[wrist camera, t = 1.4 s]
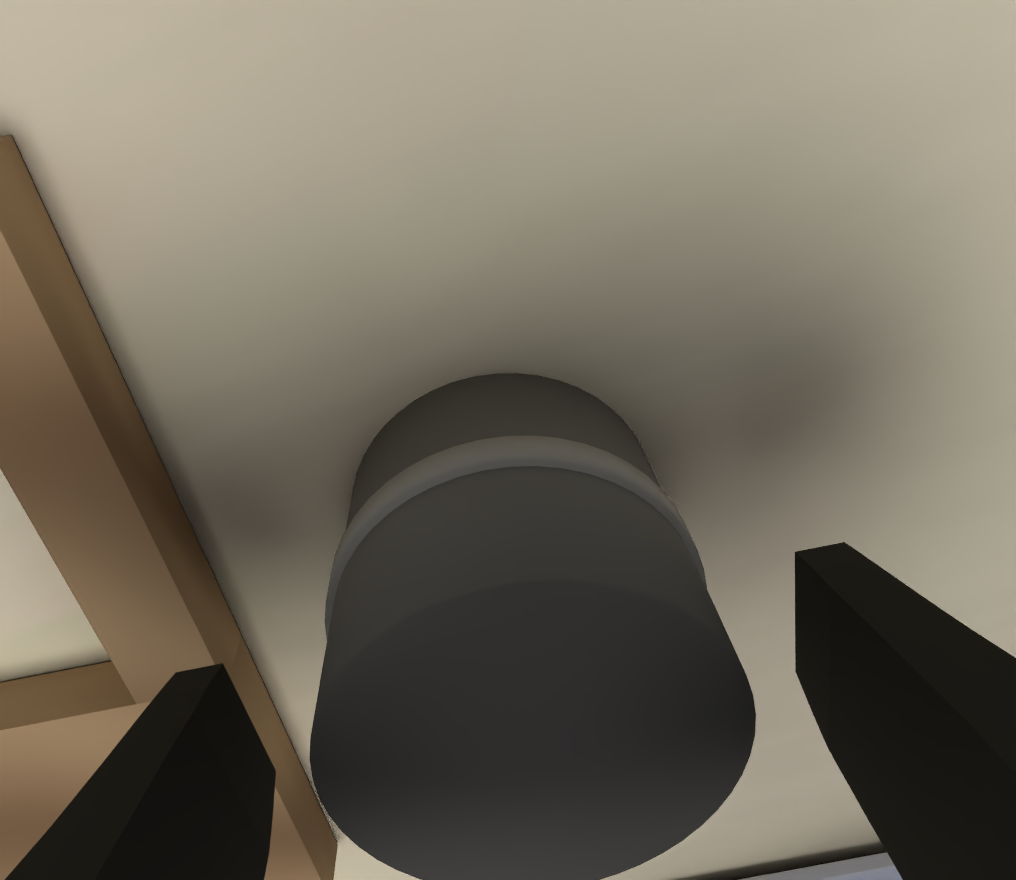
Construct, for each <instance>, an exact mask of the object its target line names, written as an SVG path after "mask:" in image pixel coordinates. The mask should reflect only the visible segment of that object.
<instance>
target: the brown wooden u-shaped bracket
mask: <svg viewBox="0 0 1016 880" xmlns="http://www.w3.org/2000/svg"><path fill="white" fill-rule="evenodd" d="M0 468H1V470H2V472H3V474H4V475H5V477H6V479H7V481H8V482H9V484H10V486H11V488H12V489H13V491H14V493H15V494H16V496H17V498H18V500H19V501H20V503H21V505H22V507H23V508H24V510H25V512H26V513H27V515H28V517H29V519H30V520H31V522H32V524H33V526H34V527H35V529H36V531H37V532H38V534H39V536H40V538H41V539H42V541H43V543H44V545H45V546H46V548H47V550H48V552H49V553H50V555H51V557H52V558H53V560H54V562H55V564H56V565H57V567H58V569H59V571H60V572H61V574H62V576H63V577H64V579H65V581H66V583H67V584H68V586H69V588H70V590H71V591H72V593H73V595H74V596H75V598H76V600H77V602H78V603H79V605H80V607H81V609H82V610H83V612H84V614H85V615H86V617H87V619H88V621H89V622H90V624H91V626H92V628H93V629H94V631H95V633H96V635H97V636H98V638H99V640H100V641H101V643H102V645H103V647H104V648H105V650H106V652H107V654H108V655H109V657H110V659H111V660H112V661H110V662H105V663H100V664H95V665H90V666H85V667H80V668H74V669H69V670H64V671H59V672H54V673H49V674H43V675H38V676H33V677H28V678H23V679H18V680H12V681H7V682H2V683H0V880H5V879H6V877H7V876H8V875H9V874H10V873H11V872H12V870H13V869H14V868H15V867H16V866H17V865H18V864H19V862H20V861H21V860H22V859H23V858H24V857H25V856H26V854H27V853H28V852H29V851H30V850H31V849H32V848H33V846H34V845H35V844H36V843H37V842H38V841H39V840H40V838H41V837H42V836H43V835H44V834H45V833H46V831H47V830H48V829H49V828H50V827H51V825H52V824H53V823H54V822H55V821H56V819H57V818H58V817H59V816H60V814H61V813H62V812H63V811H64V810H65V808H66V807H67V806H68V805H69V803H70V802H71V801H72V800H73V798H74V797H75V796H76V795H77V794H78V792H79V791H80V790H81V789H82V787H83V786H84V785H85V784H86V782H87V781H88V780H89V779H90V778H91V776H92V775H93V774H94V773H95V771H96V770H97V769H98V768H99V766H100V765H101V764H102V763H103V762H104V760H105V759H106V758H107V756H108V755H109V754H110V753H111V751H112V750H113V749H114V748H115V746H116V745H117V744H118V743H119V741H120V740H121V739H122V738H123V736H124V735H125V734H126V733H127V731H128V730H129V729H130V728H131V726H132V725H133V724H134V722H135V721H136V720H137V719H138V717H139V716H140V715H141V714H142V712H143V711H144V710H145V709H146V707H147V706H148V705H149V704H150V702H151V701H152V700H153V699H154V698H155V696H156V695H157V694H158V693H159V691H160V690H161V689H162V688H163V687H164V685H165V684H166V683H167V682H168V681H169V680H170V678H171V677H172V676H173V675H174V674H175V673H176V672H180V671H185V670H190V669H196V668H201V667H206V666H211V665H216V664H221V663H223V664H224V666H225V668H226V670H227V672H228V674H229V676H230V678H231V680H232V682H233V684H234V686H235V688H236V690H237V693H238V695H239V697H240V699H241V701H242V703H243V705H244V707H245V709H246V711H247V713H248V715H249V717H250V719H251V721H252V723H253V725H254V727H255V729H256V731H257V733H258V735H259V737H260V739H261V741H262V743H263V745H264V747H265V750H266V752H267V754H268V756H269V758H270V760H271V762H272V764H273V766H274V768H275V770H276V779H275V793H274V807H273V819H272V830H271V840H270V850H269V857H268V862H267V867H266V872H265V877H264V880H333V878H334V870H335V861H336V853H337V845H338V844H337V842H336V840H335V838H334V836H333V833H332V831H331V829H330V827H329V825H328V823H327V820H326V818H325V816H324V814H323V812H322V810H321V807H320V805H319V803H318V801H317V799H316V797H315V794H314V792H313V790H312V788H311V786H310V783H309V781H308V779H307V777H306V775H305V773H304V770H303V768H302V766H301V764H300V762H299V760H298V757H297V755H296V753H295V751H294V749H293V747H292V744H291V742H290V740H289V738H288V736H287V734H286V731H285V729H284V727H283V725H282V723H281V720H280V718H279V716H278V714H277V712H276V710H275V707H274V705H273V703H272V701H271V699H270V697H269V694H268V692H267V690H266V688H265V686H264V684H263V681H262V679H261V677H260V675H259V673H258V671H257V668H256V666H255V664H254V662H253V660H252V657H251V655H250V653H249V651H248V649H247V647H246V644H245V642H244V640H243V638H242V636H241V634H240V631H239V629H238V627H237V625H236V623H235V621H234V618H233V616H232V614H231V612H230V610H229V608H228V605H227V603H226V601H225V599H224V597H223V594H222V592H221V590H220V588H219V586H218V584H217V581H216V579H215V577H214V575H213V573H212V571H211V568H210V566H209V564H208V562H207V560H206V558H205V555H204V553H203V551H202V549H201V547H200V545H199V542H198V540H197V538H196V536H195V534H194V531H193V529H192V527H191V525H190V523H189V521H188V518H187V516H186V514H185V512H184V510H183V508H182V505H181V503H180V501H179V499H178V497H177V495H176V492H175V490H174V488H173V486H172V484H171V482H170V479H169V477H168V475H167V473H166V471H165V468H164V466H163V464H162V462H161V460H160V458H159V455H158V453H157V451H156V449H155V447H154V445H153V442H152V440H151V438H150V436H149V434H148V432H147V429H146V427H145V425H144V423H143V421H142V419H141V416H140V414H139V412H138V410H137V408H136V405H135V403H134V401H133V399H132V397H131V395H130V392H129V390H128V388H127V386H126V384H125V382H124V379H123V377H122V375H121V373H120V371H119V369H118V366H117V364H116V362H115V360H114V358H113V356H112V353H111V351H110V349H109V347H108V345H107V342H106V340H105V338H104V336H103V334H102V332H101V329H100V327H99V325H98V323H97V321H96V319H95V316H94V314H93V312H92V310H91V308H90V306H89V303H88V301H87V299H86V297H85V295H84V293H83V290H82V288H81V286H80V284H79V282H78V279H77V277H76V275H75V273H74V271H73V269H72V266H71V264H70V262H69V260H68V258H67V256H66V253H65V251H64V249H63V247H62V245H61V243H60V240H59V238H58V236H57V234H56V232H55V230H54V227H53V225H52V223H51V221H50V219H49V216H48V214H47V212H46V210H45V208H44V206H43V203H42V201H41V199H40V197H39V195H38V193H37V190H36V188H35V186H34V184H33V182H32V180H31V177H30V175H29V173H28V171H27V169H26V167H25V164H24V162H23V160H22V158H21V156H20V153H19V151H18V149H17V147H16V145H15V143H14V140H13V138H12V136H11V135H7V136H3V137H0Z"/></svg>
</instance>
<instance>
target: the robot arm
mask: <svg viewBox="0 0 1016 880" xmlns="http://www.w3.org/2000/svg"><path fill="white" fill-rule="evenodd" d="M795 653H796V674H797V676H798V678H799V681H800V683H801V686H802V688H803V691H804V693H805V695H806V698H807V700H808V703H809V705H810V708H811V710H812V712H813V715H814V717H815V719H816V722H817V724H818V726H819V728H820V731H821V733H822V735H823V738H824V740H825V742H826V745H827V747H828V749H829V751H830V752H831V754H832V756H833V758H834V760H835V761H836V763H837V765H838V767H839V769H840V770H841V772H842V774H843V776H844V778H845V779H846V781H847V783H848V785H849V786H850V788H851V790H852V792H853V794H854V795H855V797H856V799H857V801H858V802H859V804H860V806H861V808H862V809H863V811H864V813H865V815H866V816H867V818H868V820H869V822H870V823H871V825H872V827H873V829H874V830H875V832H876V834H877V836H878V837H879V839H880V841H881V843H882V844H883V846H884V848H885V850H886V851H887V852H885V853H880V854H874V855H869V856H864V857H858V858H853V859H847V860H842V861H837V862H831V863H826V864H820V865H815V866H810V867H804V868H799V869H793V870H788V871H783V872H777V873H772V874H766V875H761V876H756V877H750V878H745V879H739V880H1016V658H1015V657H1013V656H1012V655H1010V654H1008V653H1007V652H1005V651H1004V650H1002V649H1001V648H999V647H998V646H996V645H995V644H993V643H991V642H990V641H988V640H987V639H985V638H984V637H982V636H981V635H979V634H978V633H976V632H974V631H973V630H971V629H970V628H968V627H967V626H965V625H964V624H962V623H961V622H959V621H958V620H956V619H955V618H953V617H952V616H950V615H949V614H947V613H946V612H944V611H943V610H942V609H940V608H939V607H937V606H936V605H934V604H933V603H931V602H930V601H928V600H927V599H926V598H924V597H923V596H921V595H920V594H918V593H917V592H915V591H914V590H912V589H911V588H910V587H908V586H907V585H905V584H904V583H902V582H901V581H900V580H898V579H897V578H895V577H894V576H892V575H891V574H889V573H888V572H887V571H885V570H884V569H882V568H881V567H879V566H878V565H877V564H875V563H874V562H872V561H871V560H869V559H868V558H866V557H865V556H864V555H862V554H861V553H859V552H858V551H856V550H855V549H853V548H852V547H851V546H849V545H848V544H846V543H845V542H843V543H838V544H833V545H828V546H823V547H817V548H812V549H807V550H802V551H797V552H795ZM275 779H276V770H275V768H274V766H273V764H272V762H271V760H270V758H269V756H268V754H267V752H266V750H265V747H264V745H263V743H262V741H261V739H260V737H259V735H258V733H257V731H256V729H255V727H254V725H253V723H252V721H251V719H250V717H249V715H248V713H247V711H246V709H245V707H244V705H243V703H242V701H241V699H240V697H239V695H238V693H237V690H236V688H235V686H234V684H233V682H232V680H231V678H230V676H229V674H228V672H227V670H226V668H225V666H224V664H223V663H221V664H216V665H211V666H206V667H201V668H196V669H190V670H185V671H180V672H176V673H175V674H174V675H173V676H172V677H171V678H170V680H169V681H168V682H167V683H166V684H165V685H164V687H163V688H162V689H161V690H160V691H159V693H158V694H157V695H156V696H155V698H154V699H153V700H152V701H151V702H150V704H149V705H148V706H147V707H146V709H145V710H144V711H143V712H142V714H141V715H140V716H139V717H138V719H137V720H136V721H135V722H134V724H133V725H132V726H131V728H130V729H129V730H128V731H127V733H126V734H125V735H124V736H123V738H122V739H121V740H120V741H119V743H118V744H117V745H116V746H115V748H114V749H113V750H112V751H111V753H110V754H109V755H108V756H107V758H106V759H105V760H104V762H103V763H102V764H101V765H100V766H99V768H98V769H97V770H96V771H95V773H94V774H93V775H92V776H91V778H90V779H89V780H88V781H87V782H86V784H85V785H84V786H83V787H82V789H81V790H80V791H79V792H78V794H77V795H76V796H75V797H74V798H73V800H72V801H71V802H70V803H69V805H68V806H67V807H66V808H65V810H64V811H63V812H62V813H61V814H60V816H59V817H58V818H57V819H56V821H55V822H54V823H53V824H52V825H51V827H50V828H49V829H48V830H47V831H46V833H45V834H44V835H43V836H42V837H41V838H40V840H39V841H38V842H37V843H36V844H35V845H34V846H33V848H32V849H31V850H30V851H29V852H28V853H27V854H26V856H25V857H24V858H23V859H22V860H21V861H20V862H19V864H18V865H17V866H16V867H15V868H14V869H13V870H12V872H11V873H10V874H9V875H8V876H7V877H6V879H5V880H264V877H265V872H266V867H267V862H268V857H269V850H270V840H271V830H272V819H273V807H274V793H275Z"/></svg>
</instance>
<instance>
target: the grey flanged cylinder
mask: <svg viewBox="0 0 1016 880" xmlns="http://www.w3.org/2000/svg"><path fill="white" fill-rule="evenodd" d="M325 627H326V635H327V645H326V651H325V657H324V662H323V668H322V674H321V680H320V686H319V692H318V698H317V703H316V709H315V715H314V721H313V727H312V733H311V741H310V764H311V771H312V778H313V781H314V784H315V787H316V790H317V793H318V796H319V798H320V800H321V802H322V804H323V805H324V807H325V809H326V811H327V812H328V814H329V816H330V817H331V818H332V820H333V821H334V822H335V823H336V825H337V826H338V827H339V828H340V829H341V831H342V832H343V833H344V834H345V835H346V836H347V837H349V838H350V839H351V840H352V841H353V842H354V843H355V844H356V845H357V846H358V847H360V848H361V849H363V850H364V851H366V852H367V853H368V854H370V855H371V856H373V857H374V858H376V859H377V860H379V861H381V862H383V863H385V864H387V865H388V866H390V867H392V868H394V869H396V870H398V871H401V872H403V873H406V874H408V875H411V876H413V877H416V878H418V879H422V880H600V879H603V878H606V877H609V876H612V875H616V874H618V873H621V872H623V871H626V870H628V869H631V868H633V867H636V866H638V865H641V864H642V863H644V862H646V861H648V860H650V859H652V858H654V857H656V856H658V855H660V854H662V853H664V852H665V851H667V850H668V849H670V848H671V847H673V846H675V845H676V844H678V843H679V842H681V841H682V840H684V839H685V838H686V837H688V836H689V835H690V834H691V833H693V832H694V831H695V830H697V829H698V828H699V827H700V826H702V825H703V824H704V823H705V822H706V821H707V820H708V819H709V818H710V817H711V816H712V815H713V814H714V813H715V812H716V811H717V810H718V809H719V807H720V806H721V805H722V804H723V802H724V801H725V800H726V799H727V797H728V796H729V795H730V794H731V792H732V791H733V789H734V787H735V786H736V784H737V782H738V781H739V779H740V777H741V776H742V774H743V771H744V769H745V766H746V764H747V762H748V759H749V757H750V754H751V749H752V745H753V741H754V737H755V721H756V713H755V706H754V699H753V694H752V691H751V688H750V685H749V682H748V679H747V676H746V674H745V671H744V669H743V667H742V665H741V663H740V661H739V658H738V656H737V654H736V652H735V650H734V647H733V645H732V643H731V641H730V639H729V637H728V634H727V632H726V630H725V628H724V626H723V624H722V621H721V619H720V617H719V615H718V613H717V610H716V608H715V606H714V604H713V602H712V600H711V597H710V595H709V593H708V591H707V586H706V580H705V574H704V568H703V565H702V562H701V560H700V557H699V554H698V551H697V548H696V546H695V544H694V542H693V540H692V538H691V536H690V534H689V532H688V530H687V527H686V525H685V523H684V521H683V520H682V518H681V516H680V514H679V512H678V511H677V509H676V507H675V505H674V504H673V503H672V502H671V500H670V499H669V498H668V497H667V495H666V494H665V493H664V491H663V490H662V489H661V488H660V486H659V484H658V482H657V480H656V477H655V475H654V473H653V471H652V469H651V467H650V464H649V462H648V460H647V458H646V456H645V454H644V451H643V449H642V447H641V446H640V444H639V442H638V440H637V438H636V437H635V435H634V433H633V432H632V431H631V430H630V428H629V427H628V426H627V424H626V423H625V422H624V420H622V419H621V418H620V417H619V416H618V415H617V414H616V413H615V412H614V411H613V410H612V409H611V408H610V407H609V406H607V405H606V404H604V403H603V402H602V401H600V400H599V399H597V398H596V397H595V396H593V395H591V394H589V393H587V392H585V391H583V390H581V389H579V388H578V387H575V386H572V385H569V384H567V383H564V382H561V381H559V380H555V379H550V378H546V377H542V376H536V375H527V374H517V373H514V374H490V375H483V376H476V377H471V378H467V379H464V380H460V381H456V382H453V383H450V384H448V385H445V386H443V387H440V388H437V389H435V390H433V391H431V392H429V393H427V394H425V395H424V396H422V397H420V398H418V399H416V400H415V401H413V402H412V403H411V404H409V405H408V406H406V407H405V408H404V409H402V410H401V411H400V412H398V413H397V414H396V415H395V416H394V417H393V418H392V419H391V420H390V421H389V422H388V423H387V424H386V425H385V426H384V427H383V428H382V430H381V431H380V432H379V433H378V435H377V436H376V437H375V438H374V440H373V441H372V443H371V444H370V446H369V448H368V450H367V451H366V453H365V455H364V456H363V459H362V461H361V464H360V466H359V469H358V471H357V475H356V479H355V483H354V488H353V493H352V499H351V504H350V510H349V516H348V522H347V528H346V531H345V533H344V535H343V537H342V539H341V542H340V544H339V547H338V549H337V552H336V554H335V559H334V563H333V568H332V572H331V577H330V583H329V588H328V594H327V599H326V610H325Z"/></svg>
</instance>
